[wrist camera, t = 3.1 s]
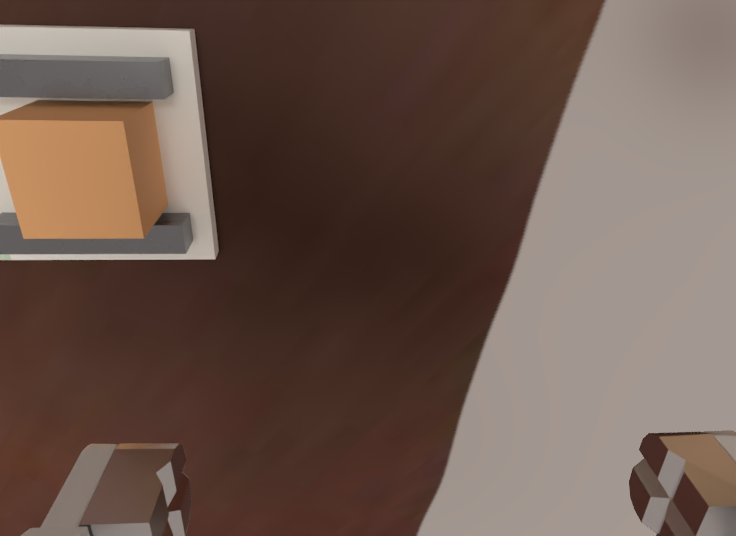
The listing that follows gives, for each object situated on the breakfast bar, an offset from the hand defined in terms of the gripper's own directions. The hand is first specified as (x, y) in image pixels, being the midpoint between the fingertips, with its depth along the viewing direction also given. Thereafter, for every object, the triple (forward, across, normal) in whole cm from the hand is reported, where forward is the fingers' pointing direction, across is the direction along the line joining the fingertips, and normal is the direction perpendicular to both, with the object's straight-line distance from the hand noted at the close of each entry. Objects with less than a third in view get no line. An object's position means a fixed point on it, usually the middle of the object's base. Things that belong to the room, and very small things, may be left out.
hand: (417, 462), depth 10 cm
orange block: (+19, +12, 0) cm, 23 cm away
